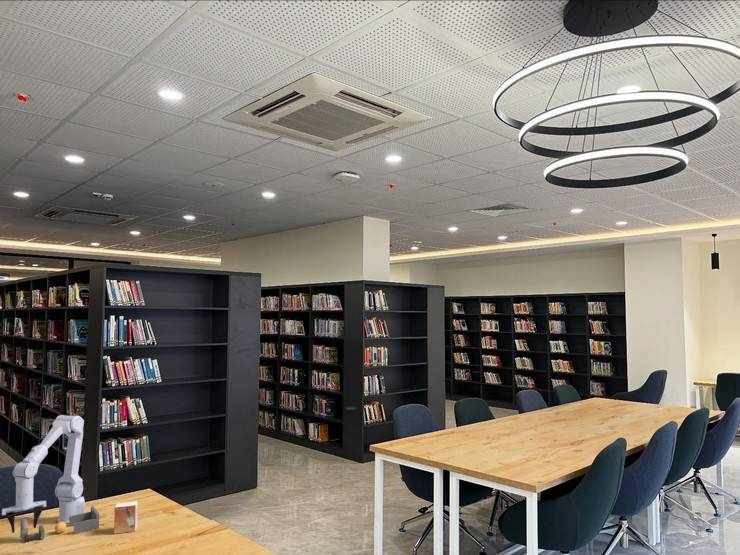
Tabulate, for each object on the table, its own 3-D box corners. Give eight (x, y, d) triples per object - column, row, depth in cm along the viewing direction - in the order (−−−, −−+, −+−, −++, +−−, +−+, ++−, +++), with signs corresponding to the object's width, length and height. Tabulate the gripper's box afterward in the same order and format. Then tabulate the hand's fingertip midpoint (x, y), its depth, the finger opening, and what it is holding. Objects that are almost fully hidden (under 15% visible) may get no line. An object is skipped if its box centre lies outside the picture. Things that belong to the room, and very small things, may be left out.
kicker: (42, 533, 219) (42, 512, 219) (44, 538, 214) (44, 516, 214) (19, 538, 214) (19, 516, 214) (21, 543, 209) (21, 521, 209)
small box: (113, 534, 217) (114, 507, 218) (116, 529, 222) (116, 502, 223) (135, 532, 219) (135, 505, 220) (137, 526, 225) (137, 500, 225)
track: (38, 536, 217) (38, 532, 217) (39, 539, 214) (39, 535, 214) (23, 539, 214) (23, 535, 214) (24, 543, 210) (24, 539, 211)
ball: (65, 529, 223) (65, 519, 223) (66, 532, 219) (67, 522, 220) (54, 532, 220) (54, 522, 220) (55, 535, 217) (55, 525, 217)
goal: (93, 520, 232) (93, 506, 232) (98, 528, 223) (99, 513, 224) (69, 526, 227) (69, 511, 227) (74, 534, 218) (74, 518, 218)
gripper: (3, 500, 206) (2, 537, 205) (47, 492, 215) (47, 527, 214) (1, 495, 211) (0, 532, 210) (45, 487, 220) (44, 522, 219)
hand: (24, 529), depth 212 cm, fingers open, 6 cm apart
